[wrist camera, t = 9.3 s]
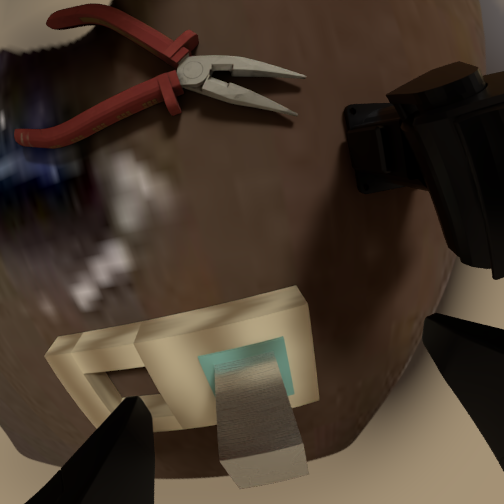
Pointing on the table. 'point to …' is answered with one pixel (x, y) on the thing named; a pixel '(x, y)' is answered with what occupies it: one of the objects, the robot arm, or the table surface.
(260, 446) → the steel block
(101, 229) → the table surface
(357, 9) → the table surface
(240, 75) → the pliers
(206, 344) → the beige slotted block
